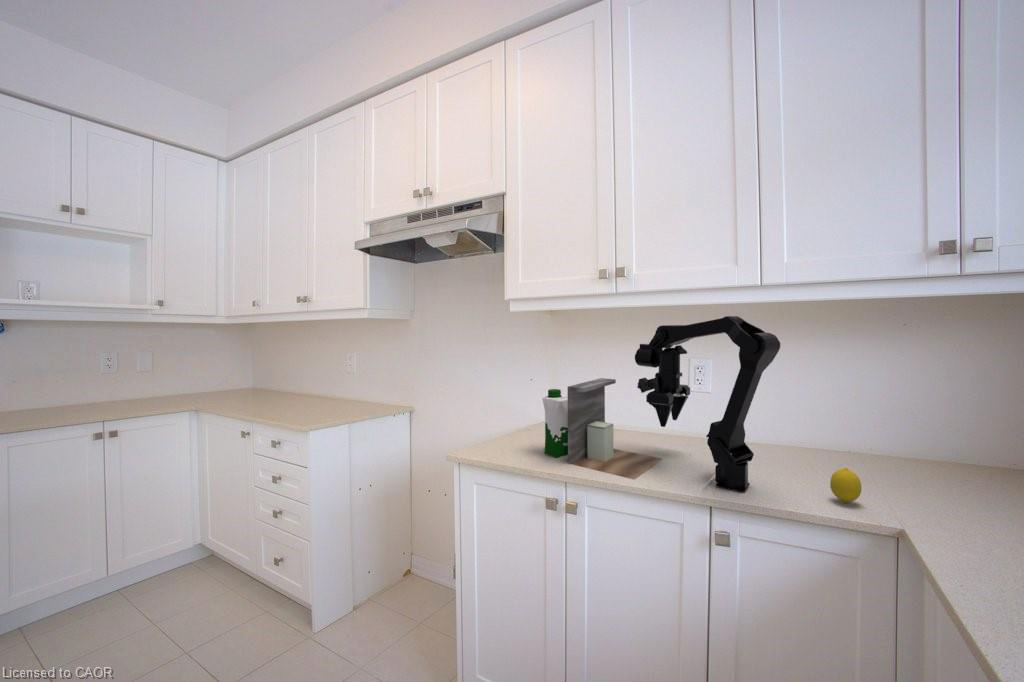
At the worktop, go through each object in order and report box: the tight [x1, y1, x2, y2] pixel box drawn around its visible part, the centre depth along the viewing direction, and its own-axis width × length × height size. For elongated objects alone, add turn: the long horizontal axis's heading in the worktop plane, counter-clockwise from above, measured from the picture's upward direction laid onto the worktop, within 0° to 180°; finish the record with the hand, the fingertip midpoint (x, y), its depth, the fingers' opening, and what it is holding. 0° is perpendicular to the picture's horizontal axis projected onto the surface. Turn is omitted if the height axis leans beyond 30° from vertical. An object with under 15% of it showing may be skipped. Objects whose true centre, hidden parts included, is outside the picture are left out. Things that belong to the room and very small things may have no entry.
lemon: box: [829, 467, 862, 504], centre depth 95 cm, size 6×6×8 cm
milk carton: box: [542, 388, 568, 459], centre depth 132 cm, size 9×9×20 cm
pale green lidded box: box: [587, 421, 615, 462], centre depth 126 cm, size 6×6×10 cm
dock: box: [567, 377, 663, 480], centre depth 122 cm, size 20×20×23 cm
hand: (669, 423), depth 121 cm, fingers open, 9 cm apart
